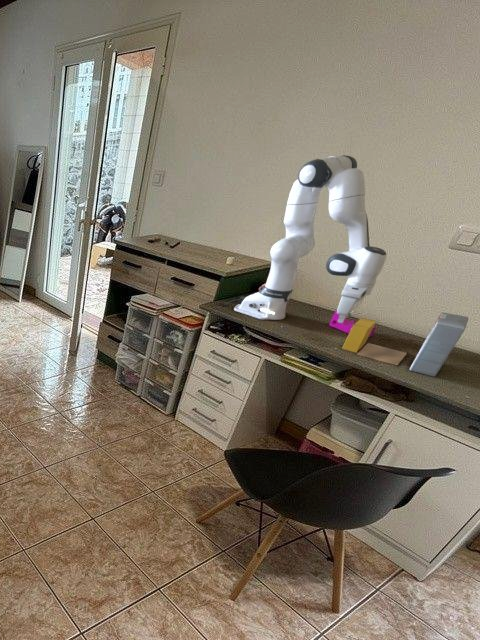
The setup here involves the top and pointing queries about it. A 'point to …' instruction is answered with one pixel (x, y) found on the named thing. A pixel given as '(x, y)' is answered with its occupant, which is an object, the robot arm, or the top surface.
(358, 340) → the yellow block
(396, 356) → the cork pad
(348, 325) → the magenta u-shaped bracket
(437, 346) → the hard drive box
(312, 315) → the top surface
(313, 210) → the robot arm
